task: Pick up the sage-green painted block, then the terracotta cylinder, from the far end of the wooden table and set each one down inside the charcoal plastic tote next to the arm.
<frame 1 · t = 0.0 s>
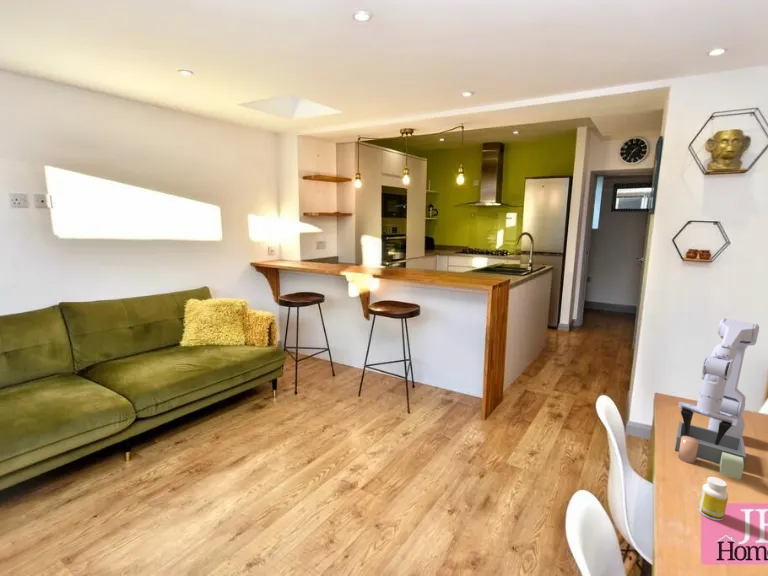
hand: (701, 438, 127), 11 cm above the table, tool pointing down, fingers open, 7 cm apart
green block: (729, 472, 128), on the table
tote: (707, 451, 139), on the table
supplement bottle: (710, 514, 110), on the table
terracotta cylinder: (686, 459, 135), on the table
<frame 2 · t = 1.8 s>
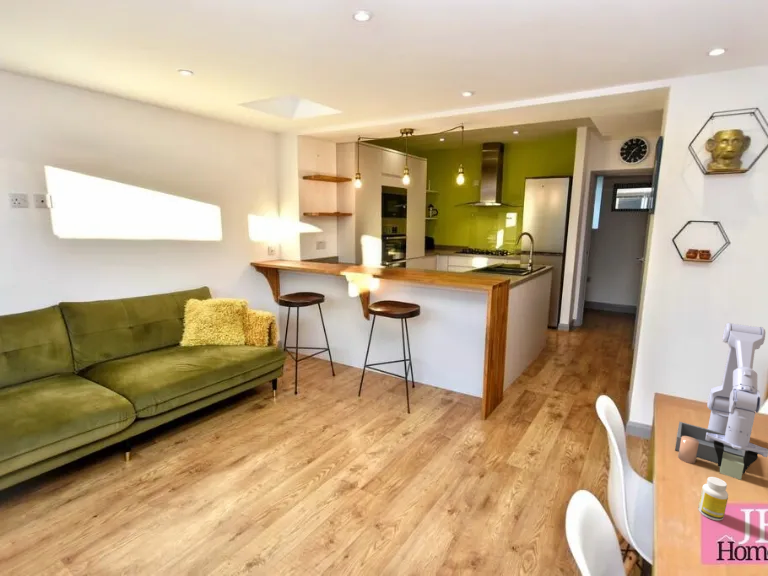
hand: (730, 468, 128), 1 cm above the table, tool pointing down, fingers closed on green block, 5 cm apart
green block: (729, 472, 128), on the table, touching gripper
everything else where it was.
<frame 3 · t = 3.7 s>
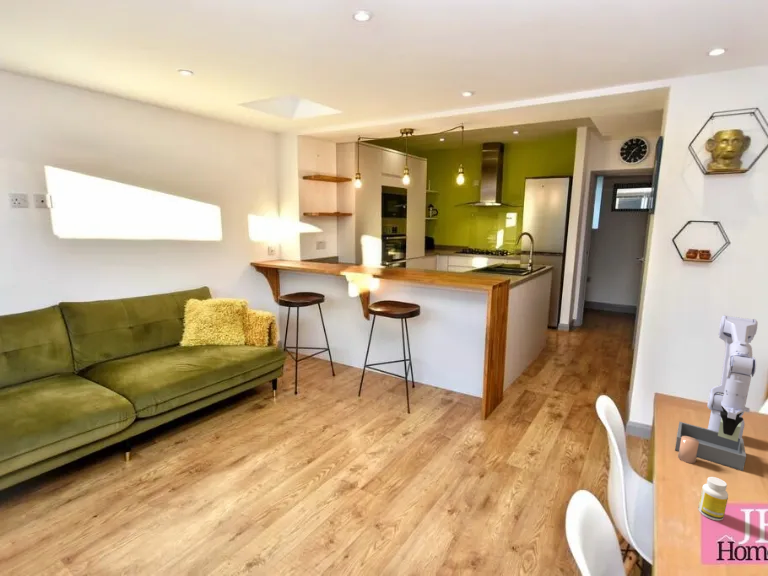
hand: (728, 431, 135), 9 cm above the table, tool pointing down, fingers closed on green block, 5 cm apart
green block: (728, 435, 135), point 8 cm above the table, touching gripper
everything else where it was.
when the fingers open (3 cm above the table, at t = 5.5 s): green block stays where it is, resting on tote.
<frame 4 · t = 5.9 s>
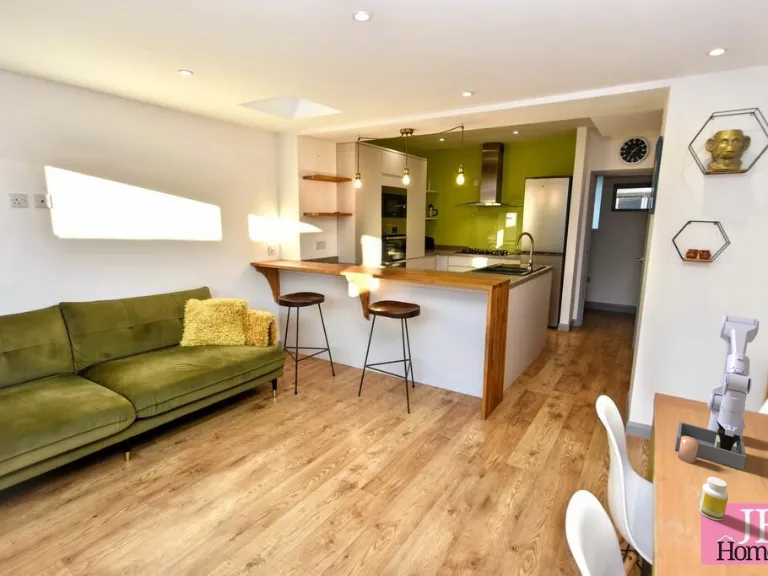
hand: (724, 446, 137), 3 cm above the table, tool pointing down, fingers open, 7 cm apart
green block: (723, 454, 137), point 1 cm above the table, touching tote
everything else where it was.
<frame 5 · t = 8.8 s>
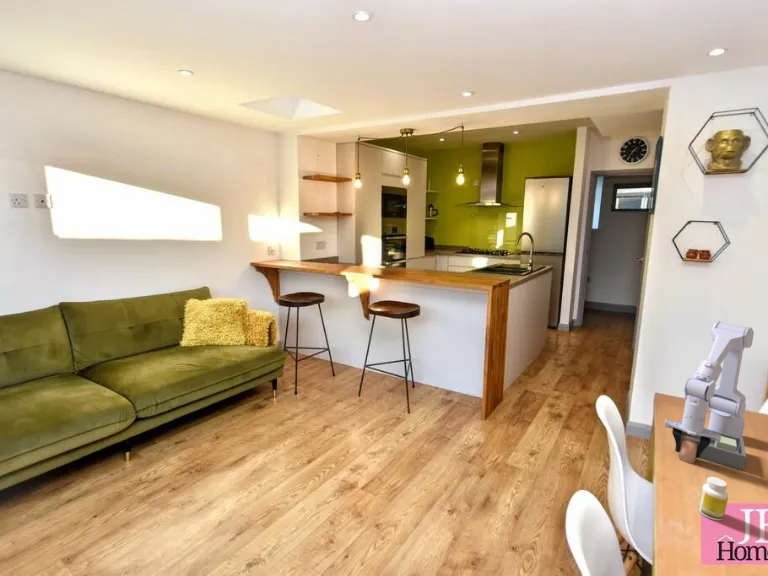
hand: (687, 453, 134), 2 cm above the table, tool pointing down, fingers closed on terracotta cylinder, 5 cm apart
terracotta cylinder: (686, 459, 135), on the table, touching gripper
everything else where it was.
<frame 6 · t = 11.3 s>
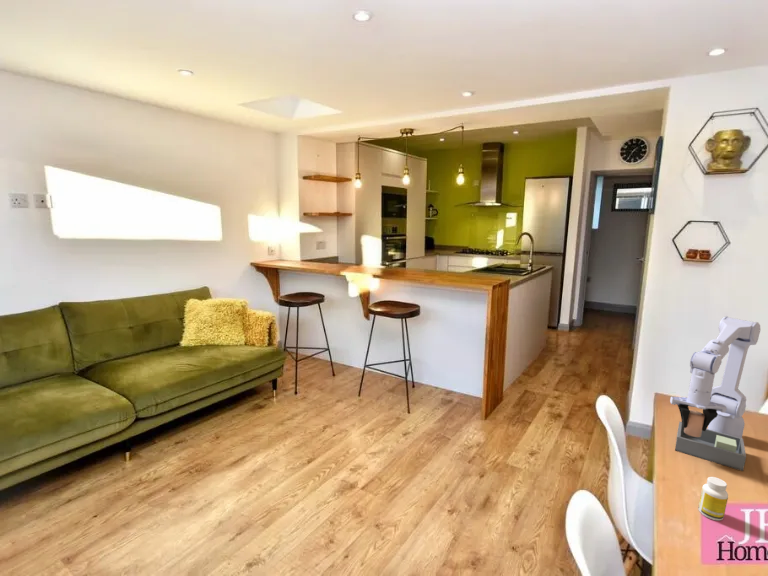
hand: (693, 427, 134), 10 cm above the table, tool pointing down, fingers closed on terracotta cylinder, 5 cm apart
terracotta cylinder: (692, 433, 135), point 8 cm above the table, touching gripper
everything else where it was.
when the fingers open (3 cm above the table, at t = 14.0 s): terracotta cylinder stays where it is, resting on tote.
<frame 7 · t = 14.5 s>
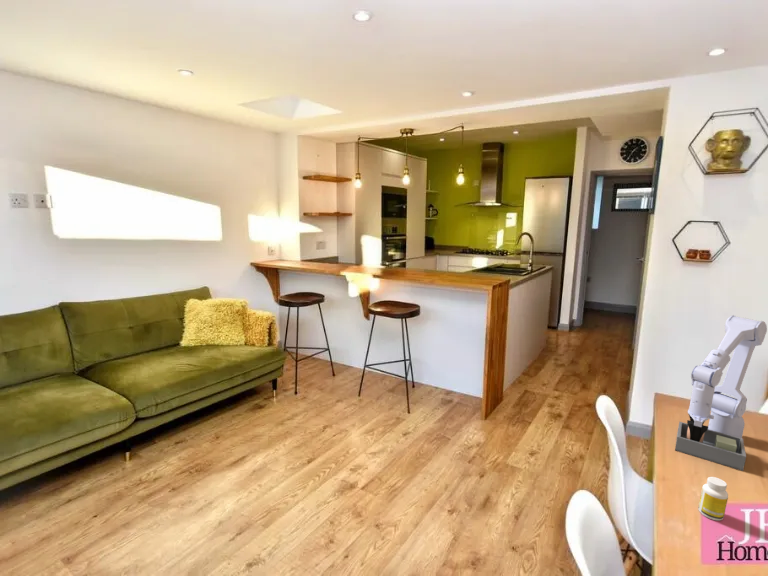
hand: (694, 437, 141), 4 cm above the table, tool pointing down, fingers open, 7 cm apart
terracotta cylinder: (693, 445, 142), point 1 cm above the table, touching tote
everything else where it was.
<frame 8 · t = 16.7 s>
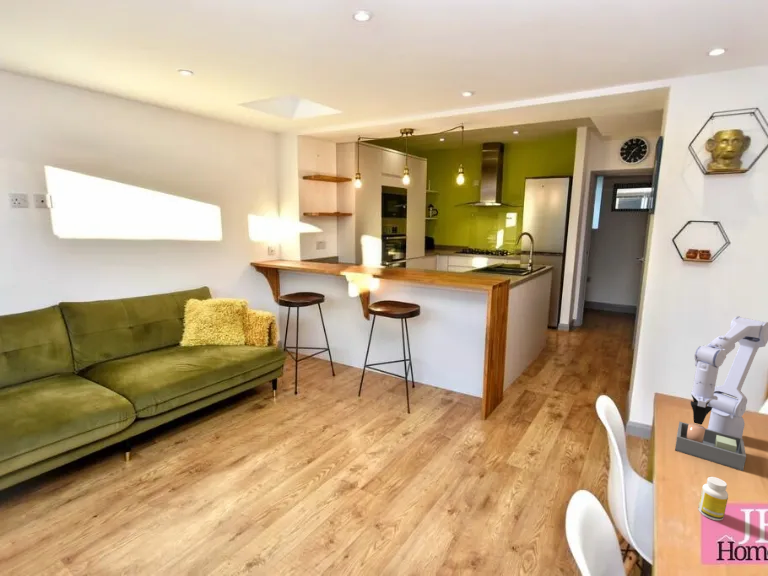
hand: (697, 419, 140), 10 cm above the table, tool pointing down, fingers open, 7 cm apart
nothing on the table moved.
at the end: green block inside the target area on the tote (4.2 cm from its centre), point 0.6 cm above the tote's base; terracotta cylinder inside the target area on the tote (3.9 cm from its centre), point 0.6 cm above the tote's base; terracotta cylinder tilted 0° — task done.
